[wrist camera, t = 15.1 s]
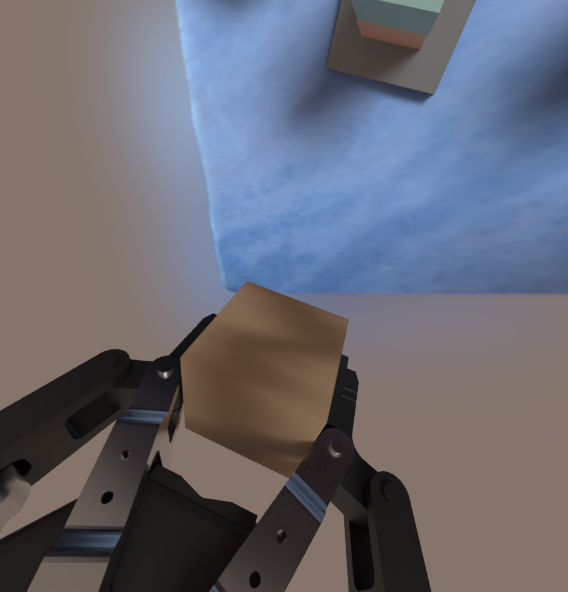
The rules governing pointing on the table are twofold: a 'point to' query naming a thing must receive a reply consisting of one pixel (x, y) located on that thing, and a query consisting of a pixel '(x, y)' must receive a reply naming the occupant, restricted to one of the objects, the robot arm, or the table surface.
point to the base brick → (391, 34)
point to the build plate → (398, 50)
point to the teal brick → (400, 13)
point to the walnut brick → (263, 377)
